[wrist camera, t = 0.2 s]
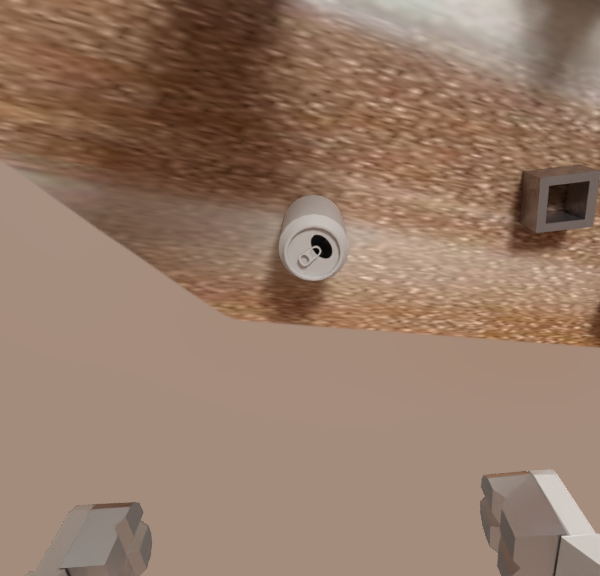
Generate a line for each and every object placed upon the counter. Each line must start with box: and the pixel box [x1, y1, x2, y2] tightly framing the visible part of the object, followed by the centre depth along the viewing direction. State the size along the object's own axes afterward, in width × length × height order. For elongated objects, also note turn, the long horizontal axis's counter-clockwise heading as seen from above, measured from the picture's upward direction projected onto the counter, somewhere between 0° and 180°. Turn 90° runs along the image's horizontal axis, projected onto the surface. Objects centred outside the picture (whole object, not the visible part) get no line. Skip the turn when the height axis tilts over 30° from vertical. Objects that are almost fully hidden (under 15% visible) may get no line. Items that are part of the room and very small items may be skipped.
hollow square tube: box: [520, 165, 600, 233], centre depth 53 cm, size 6×6×4 cm
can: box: [278, 195, 349, 281], centre depth 51 cm, size 8×8×12 cm
